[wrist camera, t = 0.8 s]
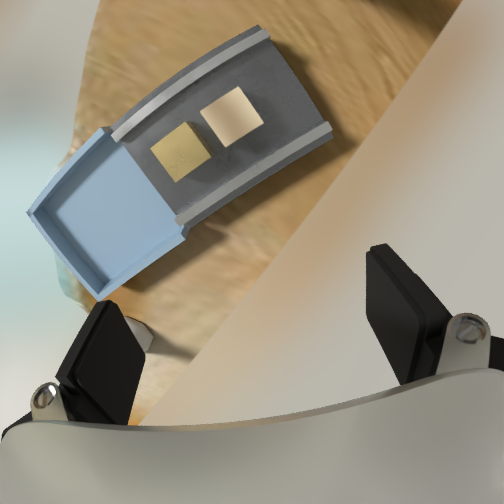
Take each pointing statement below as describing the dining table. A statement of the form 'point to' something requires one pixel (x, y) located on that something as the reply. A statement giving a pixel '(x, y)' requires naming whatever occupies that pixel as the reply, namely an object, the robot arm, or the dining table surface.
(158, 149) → the olive yellow block
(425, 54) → the dining table surface
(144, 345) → the flask
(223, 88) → the slot block
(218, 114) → the beige square block
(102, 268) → the tray
